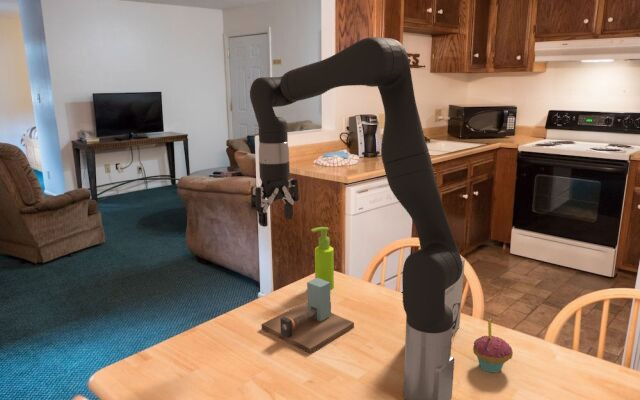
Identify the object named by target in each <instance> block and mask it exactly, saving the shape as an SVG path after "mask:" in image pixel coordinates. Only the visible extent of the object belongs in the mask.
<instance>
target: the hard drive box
mask: <svg viewBox="0 0 640 400" xmlns="http://www.w3.org/2000/svg"><path fill="white" fill-rule="evenodd" d="M461 260H462V266H463V268H462V274H461V277H460V278H459V280H458V281H457V282H456V283H455V284H453V285H452V286H450V287H449V288H447V289H446V290H445V305H447V306H448V307H449V308H450V309H451V310H452V312H453V326H452V335H453V334H454V333H456V331H457V330H458V329H459V328H460V324H461V311H462V300H463V299H462V298H463V288H464V285H463V284H464V276H465V275H464V274H465V262H466V258H465V257H464V258H463V257H461Z"/></svg>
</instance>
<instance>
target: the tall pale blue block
mask: <svg viewBox="0 0 640 400" xmlns="http://www.w3.org/2000/svg"><path fill="white" fill-rule="evenodd" d="M306 287H307V289H306V290H307V291H306V294H307V296H306V297H307V298H306V299H307V301H306V302H307V303H308V311H309V310H311V309H313V308H316V309H317V313H316V314H315V315H317V320H318V321H320V322H321V321H323V320H325V319H326V318H328V317H330V316H331V313H332V311H331V312H330V302H331V290H330V282H328V281H325V280H322V279H319V278H315V277H314V278H313V279H311V280H309V281H306ZM315 315H313V316H315ZM313 316H311V317H313Z"/></svg>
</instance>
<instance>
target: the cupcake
mask: <svg viewBox="0 0 640 400" xmlns="http://www.w3.org/2000/svg"><path fill="white" fill-rule="evenodd" d="M487 327H488V328H487V329H488V335H484V336H483V335H482V336H480V337H478V338H476V339H475V340H474V341H473V348H472V351H473V354H474V355H475V356H476V358H477V360H478V361H477V362H478V364H479V368H480V369H482V370H483V371H484V372H487V373H493V374H496V373H499V372H501V370H502V369H503V366H504V364H505V363H507V362H508V361H509V360H511V359H512V358H513V349H512V346H511V345H510V343H508V342H506V341H505V340H504V339H503V338H501V337H499V336H496V335H495V336H494V335H492V319H491V317H490V316H489V315H488V319H487Z"/></svg>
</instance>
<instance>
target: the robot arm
mask: <svg viewBox="0 0 640 400" xmlns="http://www.w3.org/2000/svg"><path fill="white" fill-rule="evenodd" d="M347 86H350V87H351V86H366V87H377V89H378V92H379V94H380V99H381V102H382V106H383V110H384V126H383V133H382V139H381V148H380V151H381V152H380V153H381V154H380V156H381V161H382V164H383V168H384V172H385V176H386V179H387V180H386V181H387V183H388V186H389V188H390V191H391V192H392V194H393V195H394V197H395V199H396V200H397V201H398V202H399V203H400V205H401V206H402V208H404V210H405V211H406V212H407V214H408V215H409V216H410V218H411V220H412V221H413V224H414V226H415V230H416V234H417V236H418V240H419V247H420V249H417V250H415V251H413V252H412V253H410V254H409V255H408V256H406V259H405V261H404V264H403V267H402V274H401V276H402V277H401V278H402V280H401V281H402V284H401V285H402V305H403V309H404V313H405V316H406V318H405V319H406V320H405V321H406V322H405V344H404V345H405V346H404V365H403V366H404V369H403V372H404V373H403V396H404V398H405V399H406V400H451V399H452V398H453V386H454V384H453V383H454V371H455V357H454V356H451V352H452V338H453V337H452V336H453V334H452V326H453V312H452V310H451V309H450V308H449V307H448V306H447V305H445V290H446V289H447V288H449V287H450V286H452V285H453V284H455V283H456V282H457V281H458V280H459V278H460V277H461V274H462V268H463V266H462V260H461V258H462V257H461V254H460V253H461V252H460V250H459V247H458V245H457V242H456V240H455V236H454V235H453V232H452V230H451V227H450V224H449V221H448V218H447V215H446V212H445V208H444V205H443V201H442V197H441V193H440V190H439V187H438V182H437V180H436V175H435V174H436V173H435V170H434V166H433V163H432V159H431V155H430V152H429V148H428V144H427V142H426V138H425V135H424V130H423V129H424V128H423V126H422V122H421V117H420V114H419V110H418V107H417V103H416V97H415V91H414V84H413V78H412V70H411V65H410V60H409V56H408V54H407V50H406V48H405V47H404V45H403V44H402V43H401V42H400V41H398V40H396V39H395V38H392V37H391V38H390V37H389V38H388V37H381V36H380V37H379V36H378V37H376V36H370V37H365V38H362V39H361V40H358V41H356V42H355V43H353V44H351V45H349V46H348V47H345V48H344V49H342V50H340V51H339V52H337V53H335V54H334V55H331V56H329V57H326V58H325V59H321V60H319V61H316V62H313V63H310V64H306V65H303V66H300V67H297V68H294V69H291V70H289V71H286V72H285V73H284V74H283V75H282V76H272V77H271V76H270V77H269V76H268V77H267V76H266V77H262V76H261V77H257V78H255V79H254V80H253V81H252V83H251V85H250V90H249V97H250V102H251V106H252V109H253V112H254V116H255V118H256V123H257V125H258V126H257V127H258V166H259V167H258V168H259V169H258V171H259V172H258V173H259V179H260V180H261V181H260V182H261V185H260V186H253V185H252V186H251V188H250V210H251V211H255V212H257V214H258V215H257V216H258V217H257V219H258V224H259V225H260V226H261V227H263V228H264V227H268V223H269V222H268V212H267V211H268V209H269V207H270V206H271V205H272V204H273V202H275V201H277V200H282V201H283V203H284V204H283V208H284V211H283V212H284V214H283V215H284V218H285V219H288V220H292V219H293V215H294V209H293V208H294V207H293V206H294V204H295V202H299V200H300V195H299V183H298V179H296V178H292V177H290V175H291V173H290V168H291V167H290V149H289V142H288V141H289V140H288V137H289V136H288V122H287V120H286V118H284V117H281V116H277V115H276V112H275V110H274V108H278V107H285V106H288V105H289V106H290V105H292V104H295V103H296V102H298V101H303V100H304V101H305V100H307V99H312V98H314V97H318V96H321V95H323V94H325V93H327V92H328V91H330V90H332V89H336V88H340V87H347Z"/></svg>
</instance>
